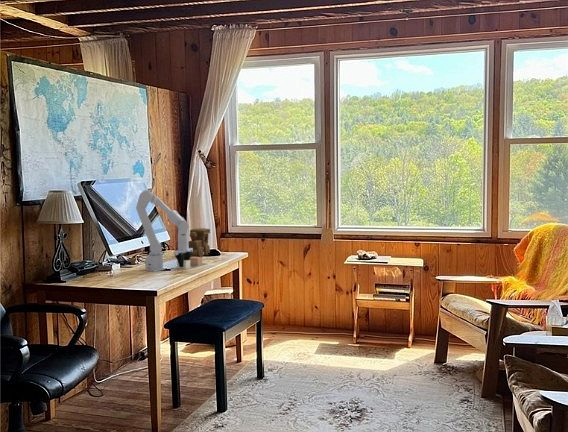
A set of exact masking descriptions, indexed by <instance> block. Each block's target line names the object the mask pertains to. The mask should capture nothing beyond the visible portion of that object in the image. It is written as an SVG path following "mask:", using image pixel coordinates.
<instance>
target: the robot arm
mask: <svg viewBox="0 0 568 432" xmlns="http://www.w3.org/2000/svg"><path fill="white" fill-rule="evenodd" d="M136 203H137V204H136V207H135V209H136V211H137V215H138V218H139V220H140V222H141V225H142V227H143V229H144V232H145V234H146V237H147V240H148V243H149V253H148V256H146V257H145V259H144V261H145V266H144V267H145V271H148V272H159V271H163V270H166V269H167V268H166V267H164V257H163V256H164V255H163V254H164V253H163V252H162V250H163V247H162V243H161V242H160V241H158V238H157V235H156V233H155V231H154V228H153V226H152V223H151V221H150V217H149V215H148V213H147V210H146V209H147V206H148V205H149V203H151V204H154V205H156V206H158V207H159V208H160V209H161V210H162V211H163V212H164V213H165V214H166V218H167V219H168V220H169V221H170V222H171V223H172V224H173V225H174V226H176V228H177V249H176V250H175V251H174V250H173V256H175V259H176V260H177V261H178V263H179V267H183V264H184V260H190V257H192V256H193V255H192V253H191V252H193V248H189V244H188V242H189V228H190V226H189V223H188V222H187V220H186V219H185V218H184V217H183V216H181V215H180V214H179V212H178V211H177V210H175V209H170V208H169V207H168V205H166V203H164V202H163V201H162V200H161V198H159V196H157V195H156V194H155V193H152V191H151V190H149V189H144V190H143V191H142V192H140V194H139V196H138V198H137V202H136Z"/></svg>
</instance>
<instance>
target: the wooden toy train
mask: <svg viewBox="0 0 568 432" xmlns="http://www.w3.org/2000/svg"><path fill="white" fill-rule="evenodd" d="M210 233H211V229H210V228H205V227H204V228H202V227H200V228H198V227H197V228H193V229H189V237H190V240H188V244H189V248H193V252H191V253H192V255H191V256H196V257H202V258H203V256H204V255H205V256H209V254H210V252H211V247H210V245H209V235H210ZM208 253H209V254H208Z"/></svg>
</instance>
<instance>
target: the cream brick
mask: <svg viewBox="0 0 568 432" xmlns="http://www.w3.org/2000/svg"><path fill="white" fill-rule="evenodd" d="M176 264H177V266H176V267H177V268H184V269H187V268H190V260H184V264H183V267H179V263H178V260H177V261H176Z"/></svg>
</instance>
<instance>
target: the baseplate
mask: <svg viewBox="0 0 568 432" xmlns="http://www.w3.org/2000/svg"><path fill="white" fill-rule="evenodd" d="M207 265H208V263H203V256H202V257H198V256H191V257H190V268H187V269H184V268H177V266H174V267H175V268H174V267H170V269H173V270H180V271H181V270H182V271H183V270H184V271H188V270H191V269H192V270H193V269H195V268H199V267H203V266H207Z"/></svg>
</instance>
